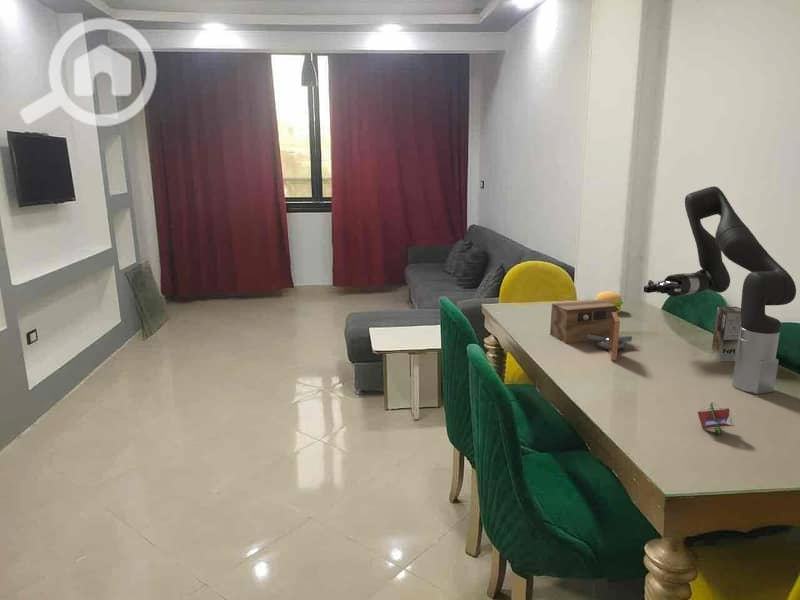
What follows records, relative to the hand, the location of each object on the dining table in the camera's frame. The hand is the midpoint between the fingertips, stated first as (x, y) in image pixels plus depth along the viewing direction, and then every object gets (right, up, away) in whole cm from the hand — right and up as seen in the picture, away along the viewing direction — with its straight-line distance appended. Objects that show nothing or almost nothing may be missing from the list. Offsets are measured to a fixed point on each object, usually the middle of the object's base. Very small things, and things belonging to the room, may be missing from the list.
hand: (645, 289), depth 182 cm
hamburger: (+8, -9, +55) cm, 56 cm away
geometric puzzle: (-6, -35, -51) cm, 62 cm away
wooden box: (-14, -17, +21) cm, 30 cm away
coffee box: (+26, -22, -1) cm, 34 cm away
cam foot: (-10, -21, +4) cm, 23 cm away
